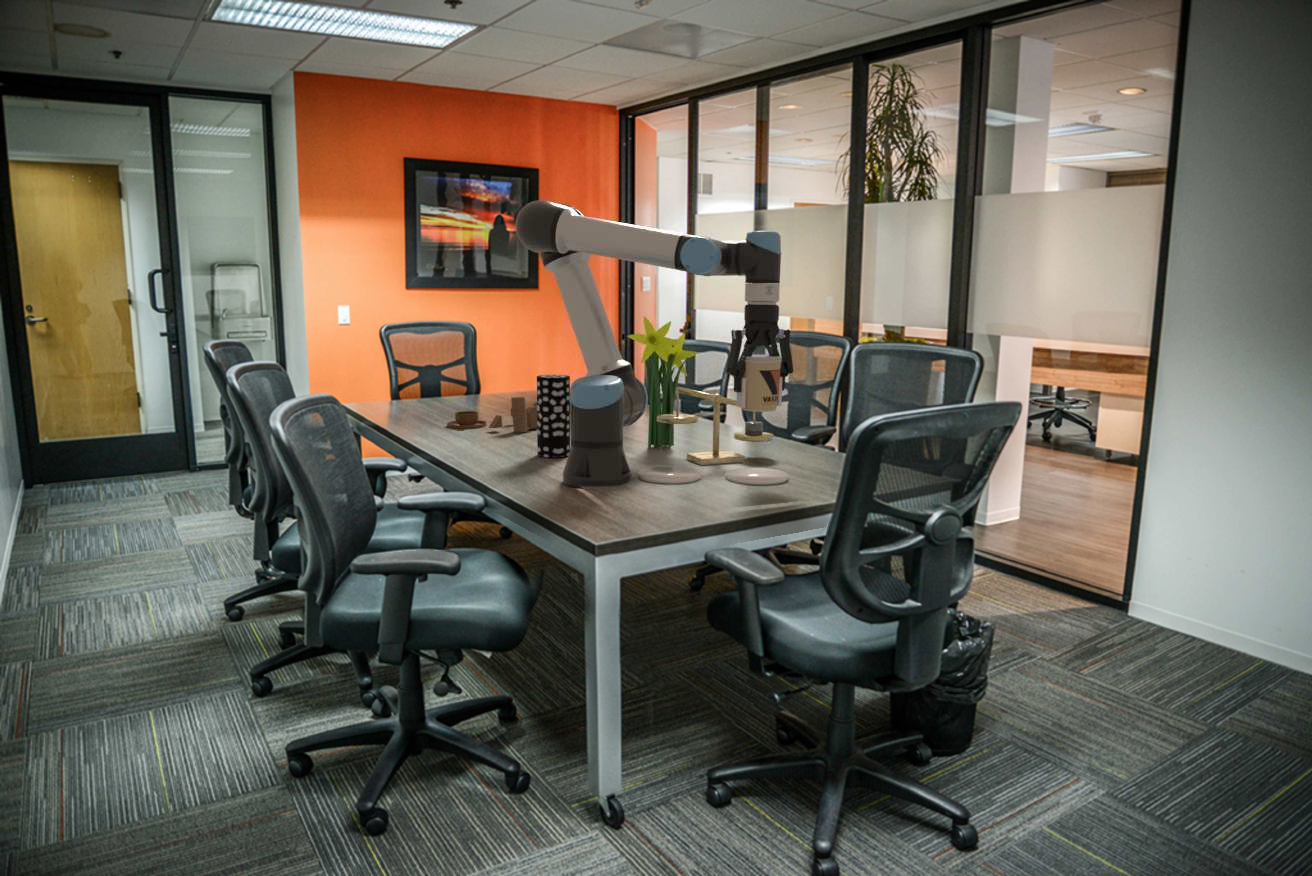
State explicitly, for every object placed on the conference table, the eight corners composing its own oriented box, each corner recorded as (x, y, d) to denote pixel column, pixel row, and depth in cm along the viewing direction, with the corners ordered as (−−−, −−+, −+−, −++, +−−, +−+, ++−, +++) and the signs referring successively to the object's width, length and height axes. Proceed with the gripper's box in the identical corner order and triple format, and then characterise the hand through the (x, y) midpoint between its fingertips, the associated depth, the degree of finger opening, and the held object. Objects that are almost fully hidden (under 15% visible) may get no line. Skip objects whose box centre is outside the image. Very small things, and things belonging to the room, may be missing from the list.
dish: (744, 486, 193) (744, 482, 193) (714, 474, 205) (714, 470, 205) (799, 481, 198) (800, 477, 198) (767, 470, 211) (767, 465, 211)
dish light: (653, 485, 193) (653, 481, 193) (629, 473, 205) (629, 469, 205) (711, 480, 198) (711, 476, 198) (684, 469, 211) (684, 464, 211)
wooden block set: (540, 426, 274) (537, 393, 273) (556, 428, 267) (553, 394, 266) (488, 433, 262) (485, 398, 261) (504, 435, 256) (501, 399, 254)
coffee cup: (766, 413, 193) (768, 358, 191) (729, 409, 198) (731, 355, 196) (787, 409, 200) (789, 355, 198) (751, 405, 206) (753, 353, 204)
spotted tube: (531, 455, 226) (530, 377, 222) (547, 450, 233) (546, 374, 230) (560, 458, 223) (560, 378, 219) (575, 453, 230) (575, 375, 227)
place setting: (465, 423, 283) (465, 404, 282) (522, 426, 276) (521, 408, 275) (434, 431, 267) (433, 411, 266) (493, 435, 260) (493, 415, 259)
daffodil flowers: (665, 441, 250) (666, 315, 244) (703, 448, 240) (705, 316, 234) (619, 447, 239) (620, 315, 233) (657, 455, 228) (659, 317, 222)
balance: (666, 468, 211) (667, 389, 208) (649, 461, 220) (650, 385, 217) (780, 459, 224) (782, 385, 221) (760, 453, 233) (762, 381, 230)
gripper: (727, 303, 188) (724, 410, 191) (812, 304, 196) (808, 406, 200) (710, 303, 195) (708, 406, 198) (794, 303, 203) (790, 402, 207)
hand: (758, 406), depth 199 cm, fingers closed on coffee cup, 8 cm apart
